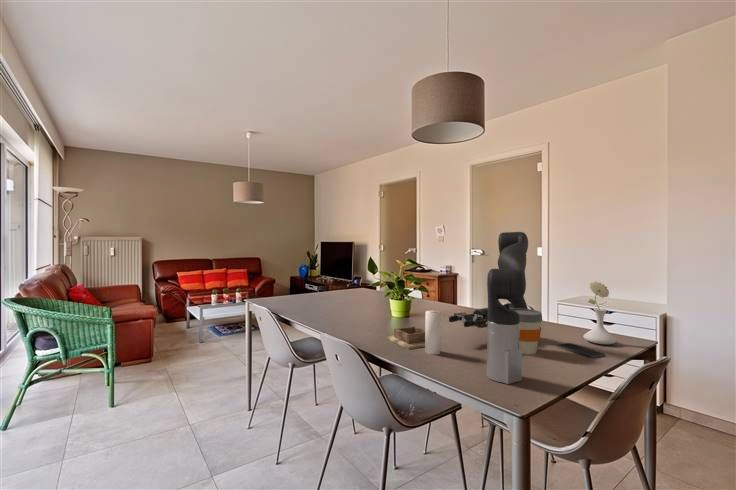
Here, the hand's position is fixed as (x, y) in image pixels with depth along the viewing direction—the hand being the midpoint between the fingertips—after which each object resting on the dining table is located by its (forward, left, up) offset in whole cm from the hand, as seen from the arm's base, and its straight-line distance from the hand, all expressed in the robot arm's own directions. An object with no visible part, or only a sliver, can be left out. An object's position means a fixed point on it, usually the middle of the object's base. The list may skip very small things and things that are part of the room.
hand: (456, 321), depth 140 cm
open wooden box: (+15, +11, -10) cm, 21 cm away
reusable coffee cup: (-14, -20, -10) cm, 27 cm away
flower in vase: (-20, -58, -10) cm, 63 cm away
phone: (-24, -39, -11) cm, 48 cm away
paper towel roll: (0, +12, -10) cm, 15 cm away
